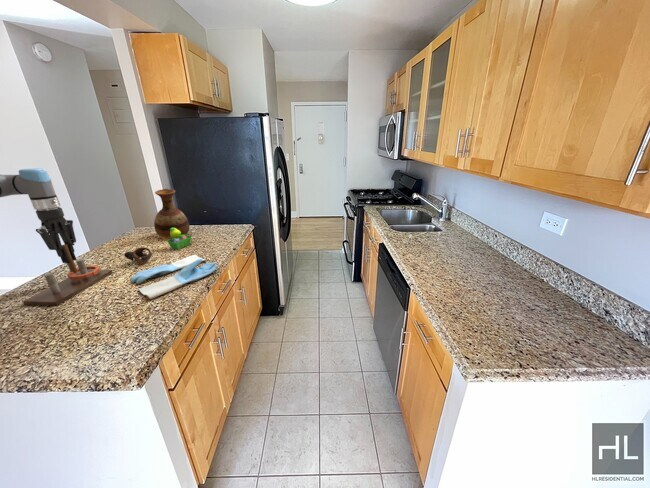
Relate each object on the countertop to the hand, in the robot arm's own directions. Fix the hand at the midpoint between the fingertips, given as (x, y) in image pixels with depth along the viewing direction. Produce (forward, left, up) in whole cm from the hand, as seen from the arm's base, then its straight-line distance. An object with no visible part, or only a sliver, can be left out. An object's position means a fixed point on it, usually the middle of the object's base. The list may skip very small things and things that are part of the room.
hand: (69, 261), depth 113 cm
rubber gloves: (+42, +6, -9) cm, 44 cm away
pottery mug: (+16, +19, -9) cm, 26 cm away
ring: (+5, 0, -6) cm, 8 cm away
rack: (+5, -7, -9) cm, 12 cm away
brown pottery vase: (+10, +59, -9) cm, 60 cm away
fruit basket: (+25, +40, -9) cm, 48 cm away
